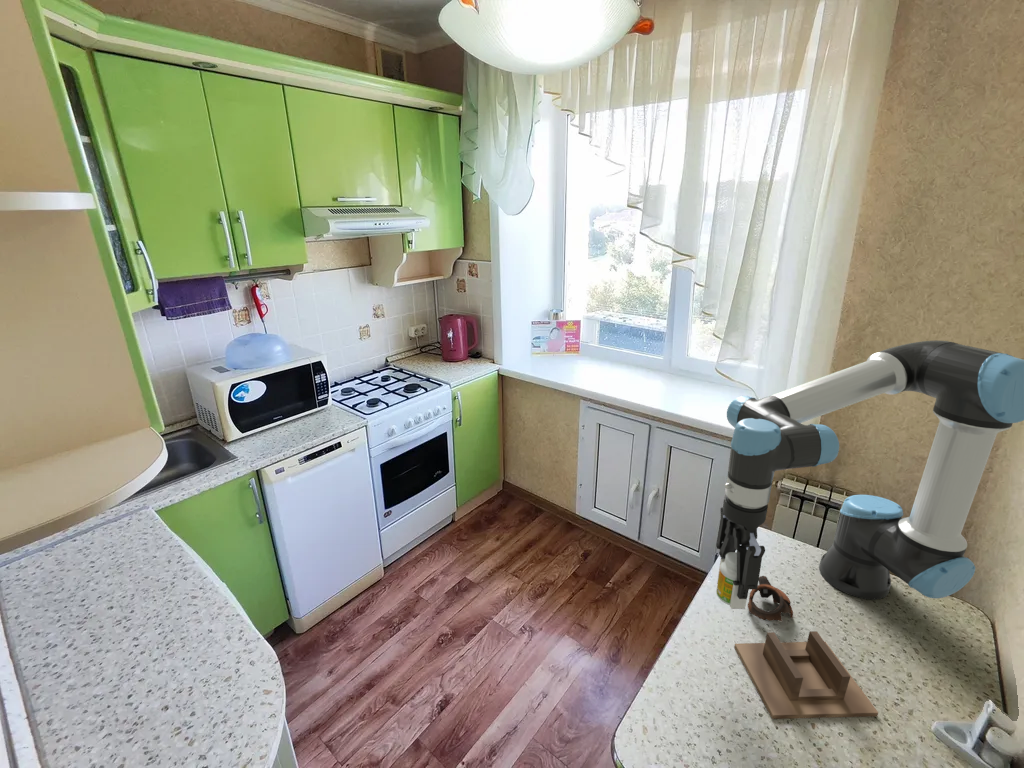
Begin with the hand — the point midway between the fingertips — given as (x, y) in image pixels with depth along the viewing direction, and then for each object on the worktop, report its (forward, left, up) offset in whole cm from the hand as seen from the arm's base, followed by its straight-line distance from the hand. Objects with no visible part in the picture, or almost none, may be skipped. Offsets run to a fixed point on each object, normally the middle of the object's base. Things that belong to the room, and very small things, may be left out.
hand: (730, 595), depth 98 cm
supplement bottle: (0, 0, -1) cm, 1 cm away
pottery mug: (-17, -12, -17) cm, 26 cm away
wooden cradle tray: (-14, +6, -16) cm, 22 cm away
